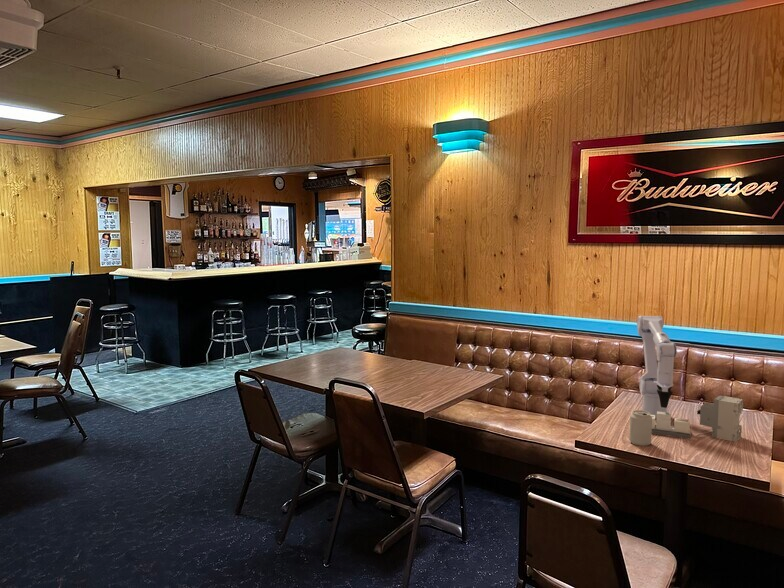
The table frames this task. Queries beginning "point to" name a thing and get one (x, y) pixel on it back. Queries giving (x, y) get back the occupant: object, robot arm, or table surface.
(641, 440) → the can
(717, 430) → the circuit breaker
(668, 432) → the rail plate
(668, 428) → the block
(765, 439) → the table surface
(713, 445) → the table surface
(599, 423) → the table surface
